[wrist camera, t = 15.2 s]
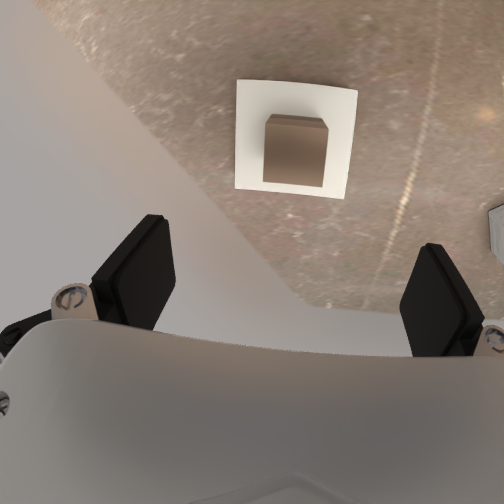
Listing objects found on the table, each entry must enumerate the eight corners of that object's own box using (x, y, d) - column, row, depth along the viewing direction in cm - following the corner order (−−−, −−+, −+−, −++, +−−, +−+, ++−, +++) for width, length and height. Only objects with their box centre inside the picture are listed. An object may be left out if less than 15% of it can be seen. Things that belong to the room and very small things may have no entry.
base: (243, 79, 30) (237, 79, 27) (351, 89, 29) (357, 90, 26) (241, 177, 37) (234, 188, 33) (339, 186, 35) (343, 199, 32)
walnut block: (271, 113, 28) (265, 123, 22) (321, 118, 28) (328, 129, 22) (269, 160, 31) (262, 181, 25) (317, 164, 30) (322, 187, 25)
